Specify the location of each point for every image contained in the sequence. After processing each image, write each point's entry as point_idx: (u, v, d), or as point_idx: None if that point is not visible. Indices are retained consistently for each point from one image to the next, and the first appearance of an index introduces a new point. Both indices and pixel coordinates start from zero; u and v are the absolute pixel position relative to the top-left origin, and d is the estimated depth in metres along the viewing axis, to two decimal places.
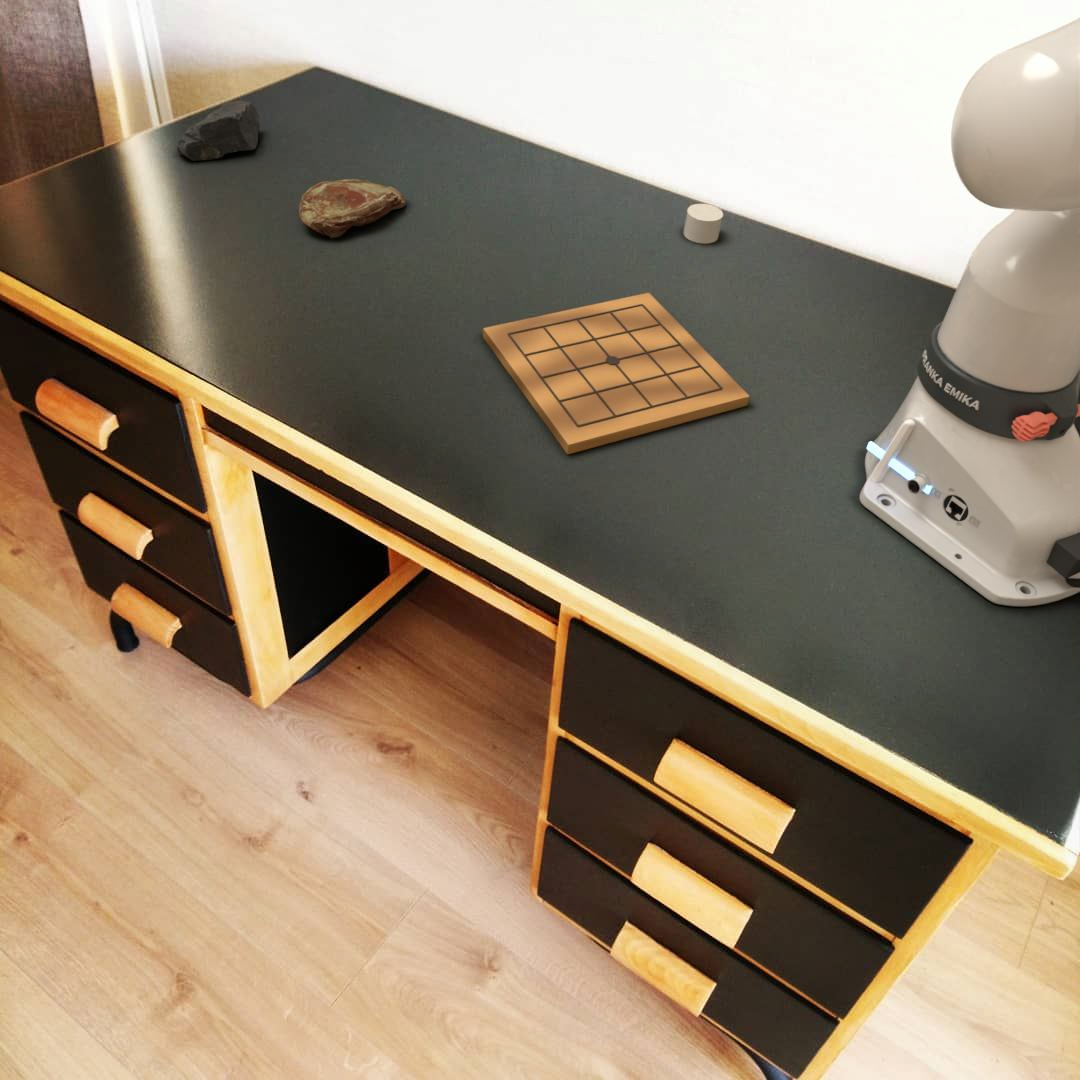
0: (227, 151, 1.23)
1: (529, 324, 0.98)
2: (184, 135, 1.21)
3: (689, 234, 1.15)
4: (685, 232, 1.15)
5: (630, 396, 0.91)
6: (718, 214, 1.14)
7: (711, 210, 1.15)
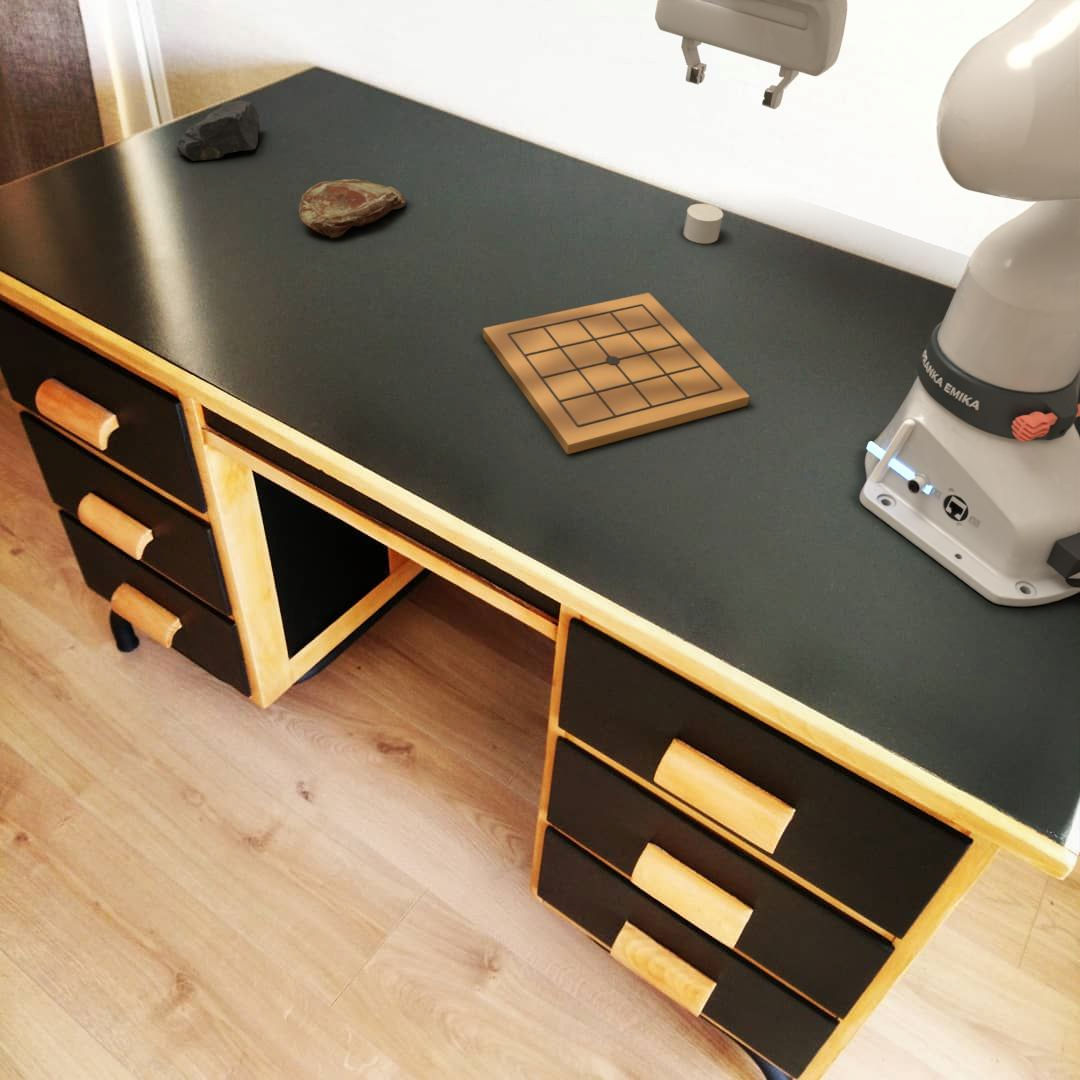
0: (227, 151, 1.23)
1: (529, 324, 0.98)
2: (184, 135, 1.21)
3: (689, 234, 1.15)
4: (685, 232, 1.15)
5: (630, 396, 0.91)
6: (718, 214, 1.14)
7: (711, 210, 1.15)
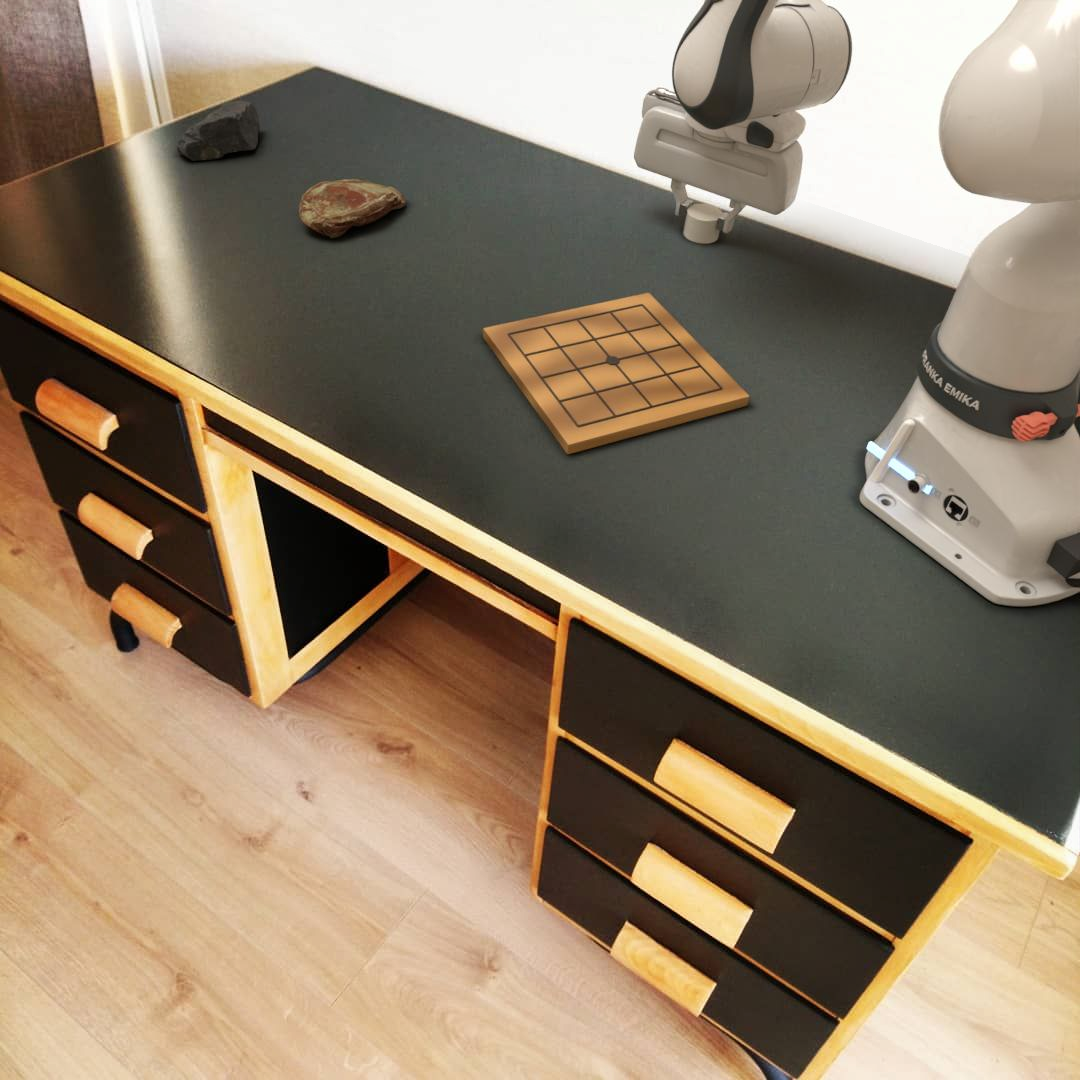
0: (227, 151, 1.23)
1: (529, 324, 0.98)
2: (184, 135, 1.21)
3: (689, 234, 1.15)
4: (685, 232, 1.15)
5: (630, 396, 0.91)
6: (718, 214, 1.14)
7: (711, 210, 1.15)
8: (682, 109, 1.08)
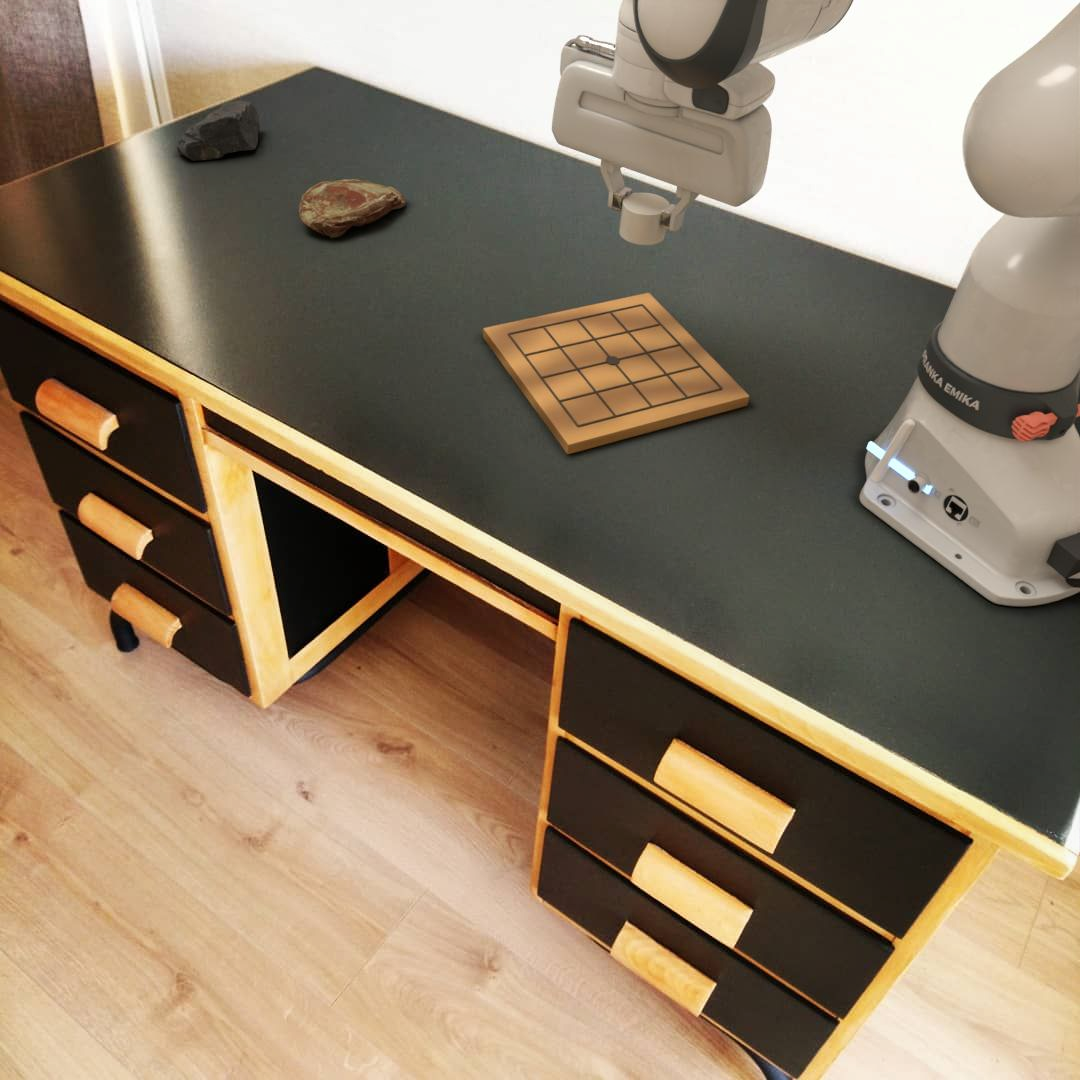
0: (227, 151, 1.23)
1: (529, 324, 0.98)
2: (184, 135, 1.21)
3: (625, 233, 0.87)
4: (620, 230, 0.88)
5: (630, 396, 0.91)
6: (663, 206, 0.86)
7: (654, 201, 0.87)
8: (611, 64, 0.80)
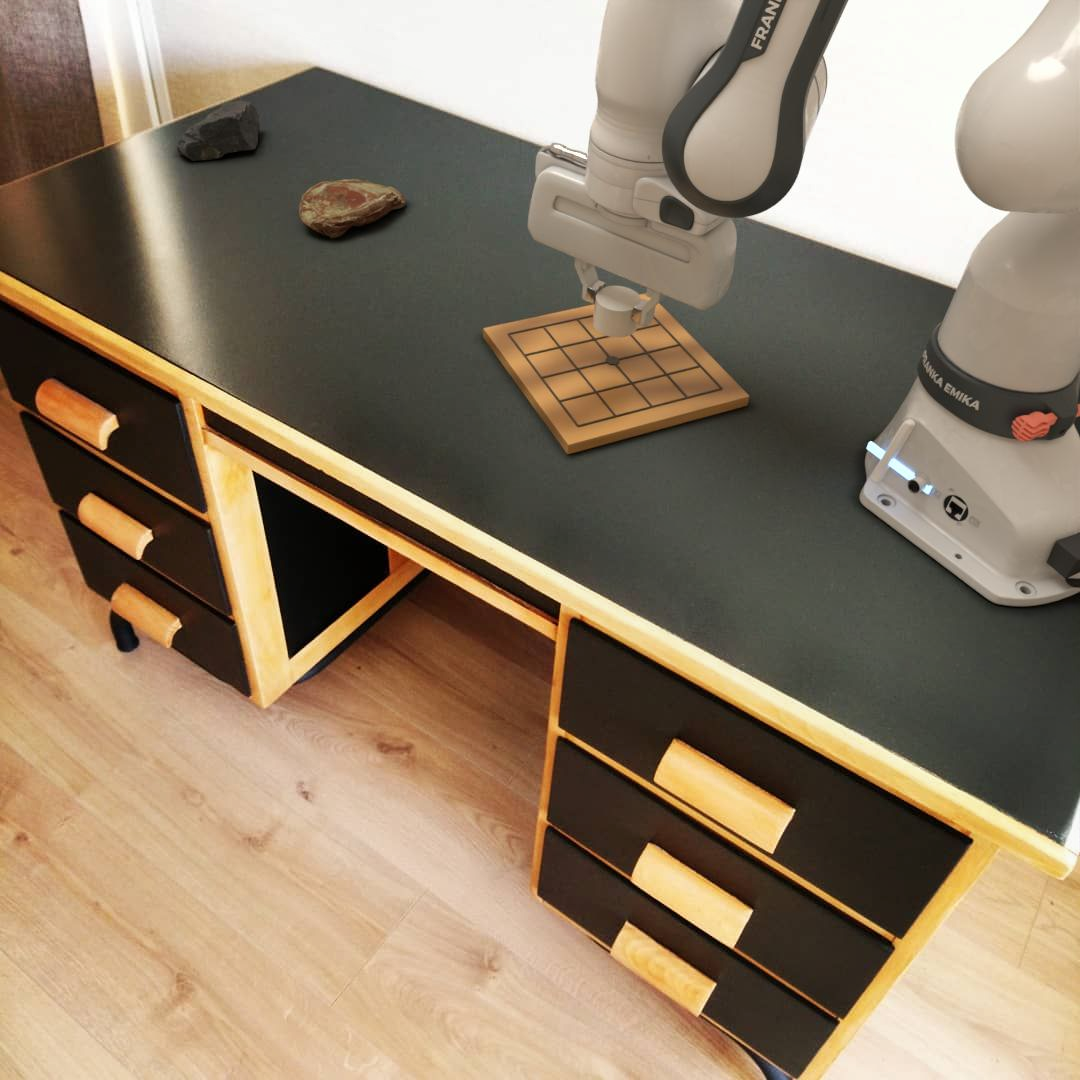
0: (227, 151, 1.23)
1: (529, 324, 0.98)
2: (184, 135, 1.21)
3: (598, 325, 0.90)
4: (594, 322, 0.91)
5: (630, 396, 0.91)
6: (635, 301, 0.90)
7: (626, 295, 0.90)
8: (583, 172, 0.83)
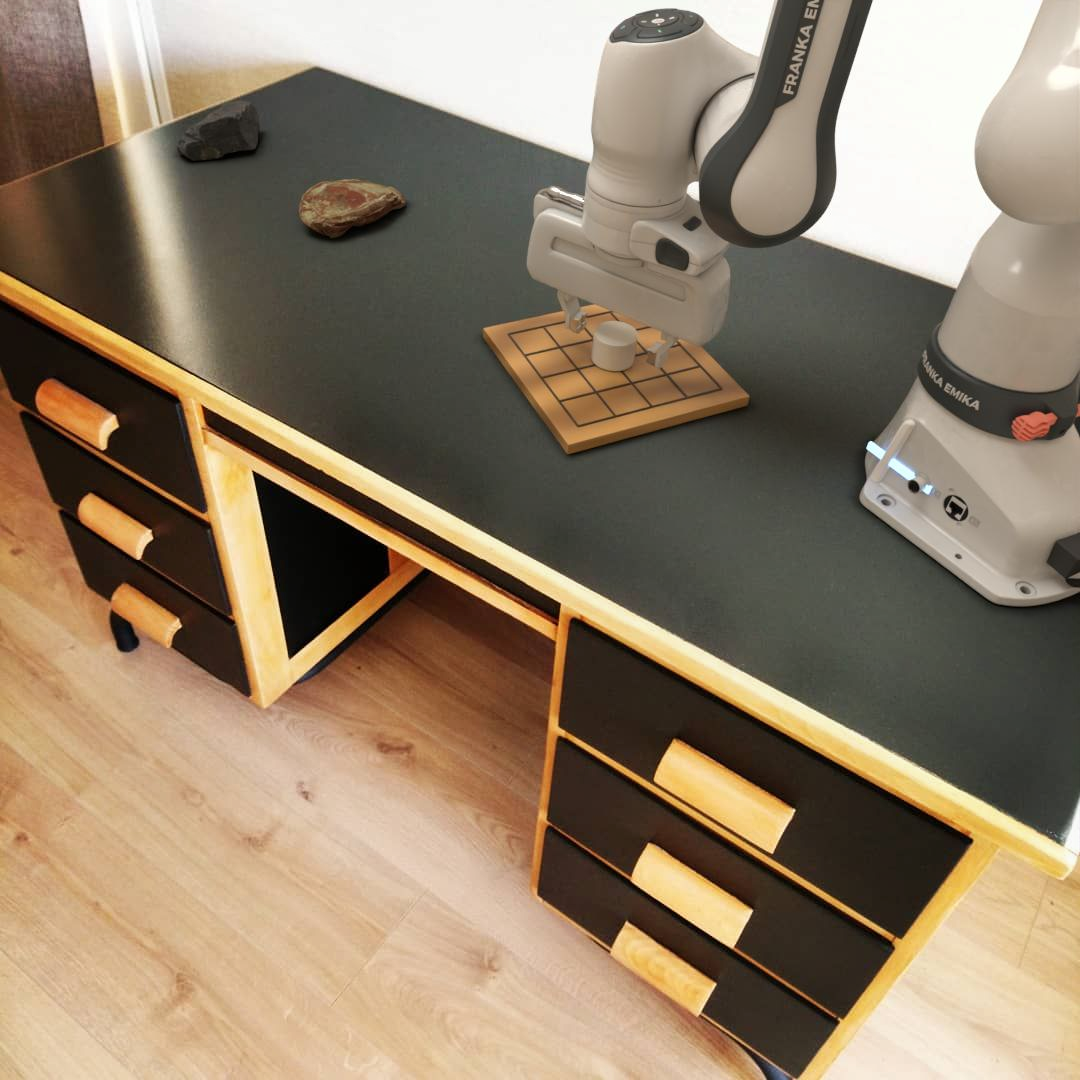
0: (227, 151, 1.23)
1: (529, 324, 0.98)
2: (184, 135, 1.21)
3: (597, 359, 0.93)
4: (592, 356, 0.94)
5: (630, 396, 0.91)
6: (632, 336, 0.92)
7: (624, 330, 0.93)
8: (580, 214, 0.86)
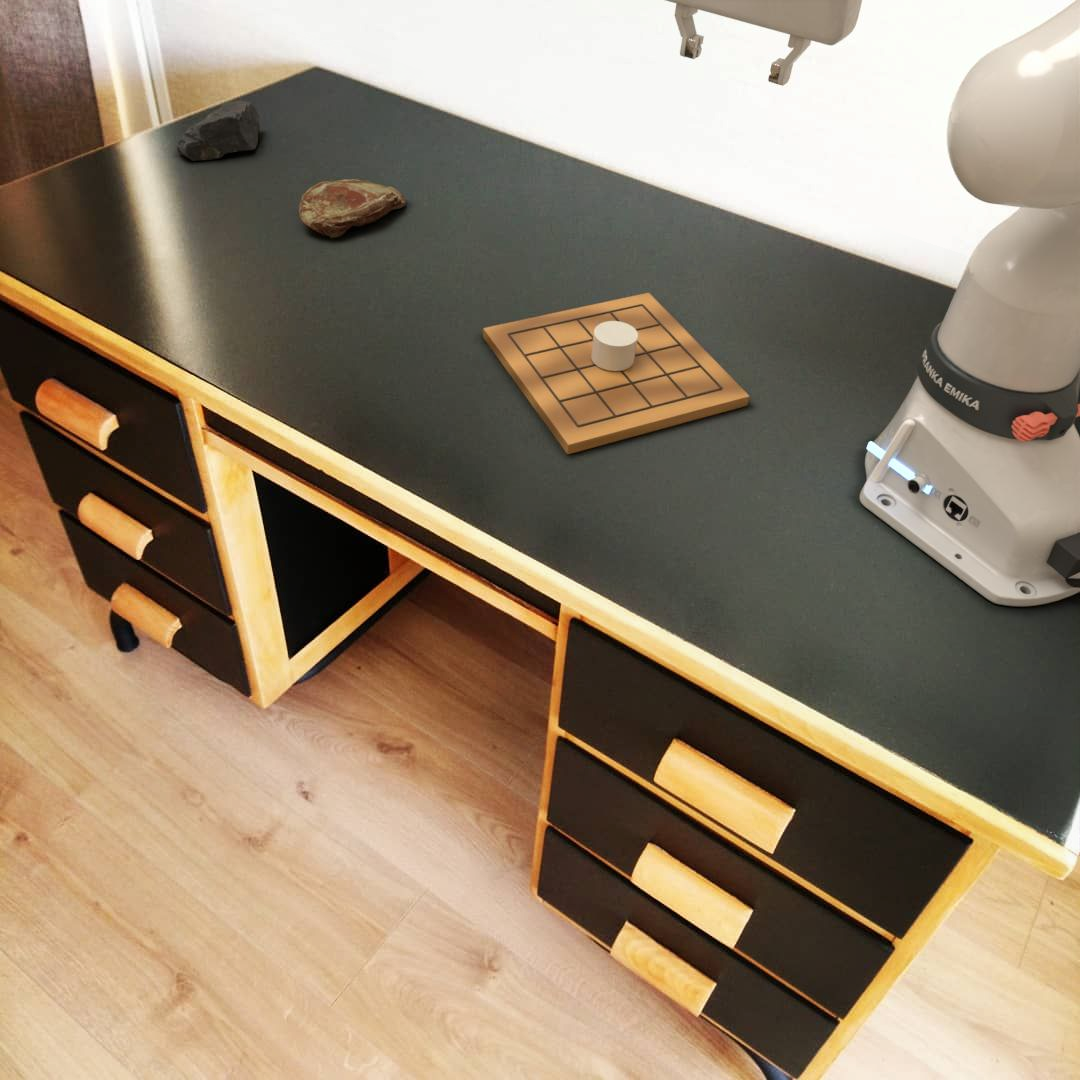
0: (227, 151, 1.23)
1: (529, 324, 0.98)
2: (184, 135, 1.21)
3: (597, 359, 0.93)
4: (592, 356, 0.94)
5: (630, 396, 0.91)
6: (632, 336, 0.92)
7: (624, 330, 0.93)
8: None
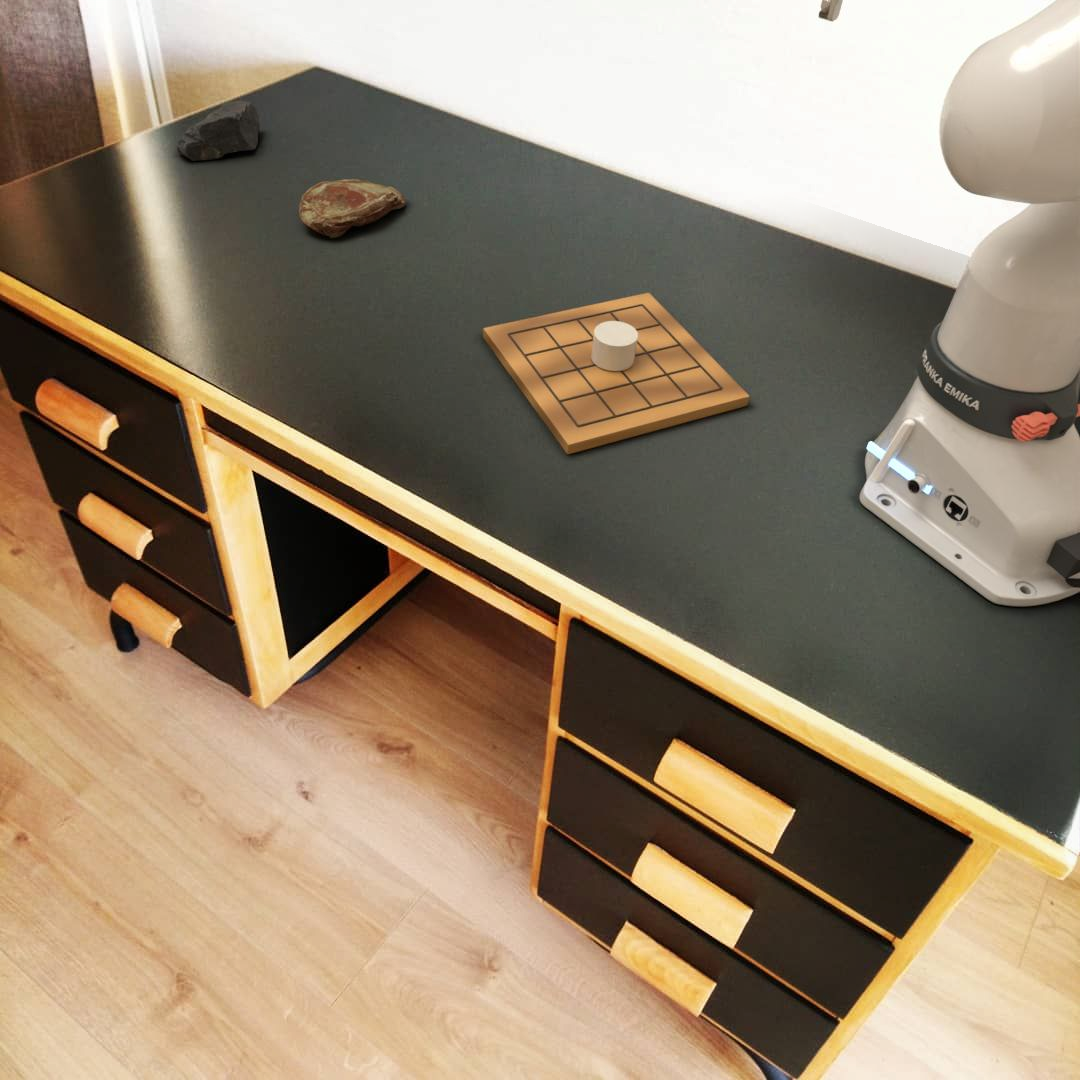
0: (227, 151, 1.23)
1: (529, 324, 0.98)
2: (184, 135, 1.21)
3: (597, 359, 0.93)
4: (592, 356, 0.94)
5: (630, 396, 0.91)
6: (632, 336, 0.92)
7: (624, 330, 0.93)
8: None
